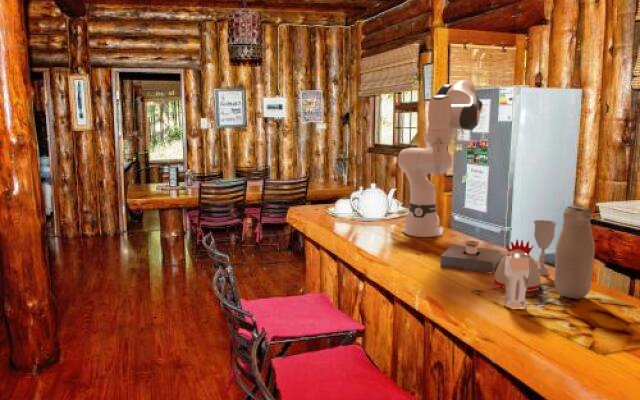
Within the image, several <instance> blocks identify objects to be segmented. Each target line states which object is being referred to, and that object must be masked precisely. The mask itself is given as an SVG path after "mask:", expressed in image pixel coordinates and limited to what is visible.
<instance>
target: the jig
mask: <svg viewBox="0 0 640 400" xmlns="http://www.w3.org/2000/svg"><path fill="white" fill-rule="evenodd" d="M501 256H502V250H500V249H491V248H485V247H484V248H483V247H477V256H476V255H468V254H466V245H465V246H464V245H455V244H452V245H451V246H450V247H449V248H448V249H446V250H445V251H444V252H443V253H442V254H441V255H440V264H439V265H440V268H441V267H442V268H448V267H449V269H455V268H458V269H457V270H463V269H466V270H465V271H470V270H473V271H472V272H478V271H482V272H481V273H485V272H491V273H490V274H493V273H494V272H495V271H496V269H497V267H498V266H497V265H499V264H498V263H500V261H501V259H502V258H501ZM496 266H497V267H496ZM495 268H496V269H495ZM493 271H494V272H493ZM492 272H493V273H492Z"/></svg>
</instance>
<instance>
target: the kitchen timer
mask: <svg viewBox="0 0 640 400" xmlns="http://www.w3.org/2000/svg"><path fill="white" fill-rule="evenodd" d="M510 245H511V248H510V247H509V245H508V244H506V245H505V247H506V249H507V253H512V252H515V253H524V254H527V255H529V256H530V277H529V282H528V286H527V289H526V290H532V289H537V288H539V287H540V288H541V277H540V276H541V275H539V272H538V268H537V267H538V266H539V265H537V263H536V261H535V260H534V258H533V257H532V255H531V254H530V253H531V251H532V249H533V248H534V244H533V245H532V246H531V247H530V241H529V240H528V241H527V242H526V245H525V246H524V239H521V241H520V244H519V240H518V238H517V239H516V240H515V244H514V242H513V241H511V242H510ZM505 257H506V254H505V255H504V256H503V257H502V258H501V261H500V262H499V264H498V266H497V267H496V269H495V271H494V275H493V276H494V278H493V284H494V283H495V284H496V285H498V286H500V287H504V288H505V281H504V263H505ZM495 284H494V285H495ZM496 285H495V286H496ZM498 286H497V287H498ZM500 287H499V288H500Z"/></svg>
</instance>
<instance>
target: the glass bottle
mask: <svg viewBox="0 0 640 400" xmlns="http://www.w3.org/2000/svg"><path fill="white" fill-rule="evenodd" d="M562 218H563V222H562V226H561V229H560V232H559V235H558V237H557V240H556V243H555V244H556V246H555V258H554V259H555V260H554V261H555V262H554V280H553V281H554V286H555V290H556V291H557V293H558V294H559V295H560V296H562V297H564V296H565V297H564V298H567V297H569V298H568V299H570V298H575V299H574V300H580V298H581V299H583V298H585V297H586V296H587V295H588V294H589V293H590V290H591V289H592V279H593V272H594V260H595V250H596V249H595V247H596V246H595V240H594V236H593V229H592V224H591V220H592V211H591V209H590V207H587V206H584V205H581V204H570V205H568V206H567V207H565V209H564V211H563V215H562Z"/></svg>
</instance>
